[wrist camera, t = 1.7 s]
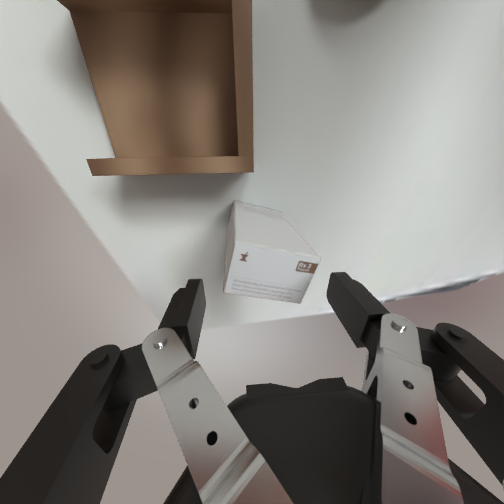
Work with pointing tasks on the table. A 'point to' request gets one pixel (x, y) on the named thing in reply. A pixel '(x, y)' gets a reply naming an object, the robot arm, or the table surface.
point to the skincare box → (266, 255)
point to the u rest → (170, 83)
